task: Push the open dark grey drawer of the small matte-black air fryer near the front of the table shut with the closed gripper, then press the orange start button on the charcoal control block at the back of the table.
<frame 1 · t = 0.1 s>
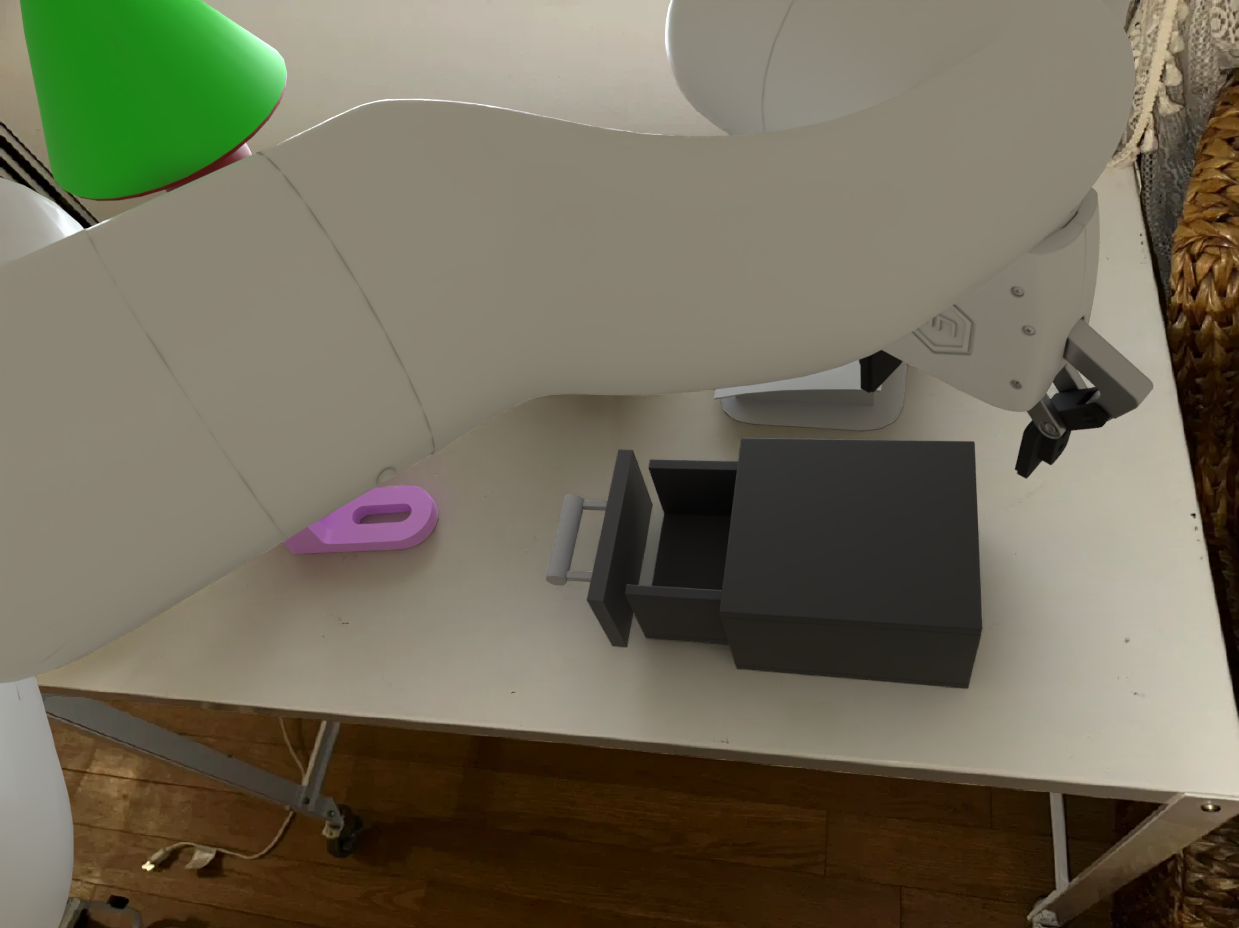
hand: (955, 414, 51), 20 cm above the table, tool pointing down, fingers open, 9 cm apart
mug: (577, 338, 88), on the table
start button: (108, 498, 83), point 4 cm above the table, slide at 0.1 cm
table lamp: (338, 354, 94), on the table
control block: (141, 483, 89), on the table
fryer: (851, 590, 67), on the table
bracket: (369, 524, 81), on the table
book: (821, 325, 82), on the table
dark grey drawer: (681, 550, 67), point 5 cm above the table, slide at 8.0 cm
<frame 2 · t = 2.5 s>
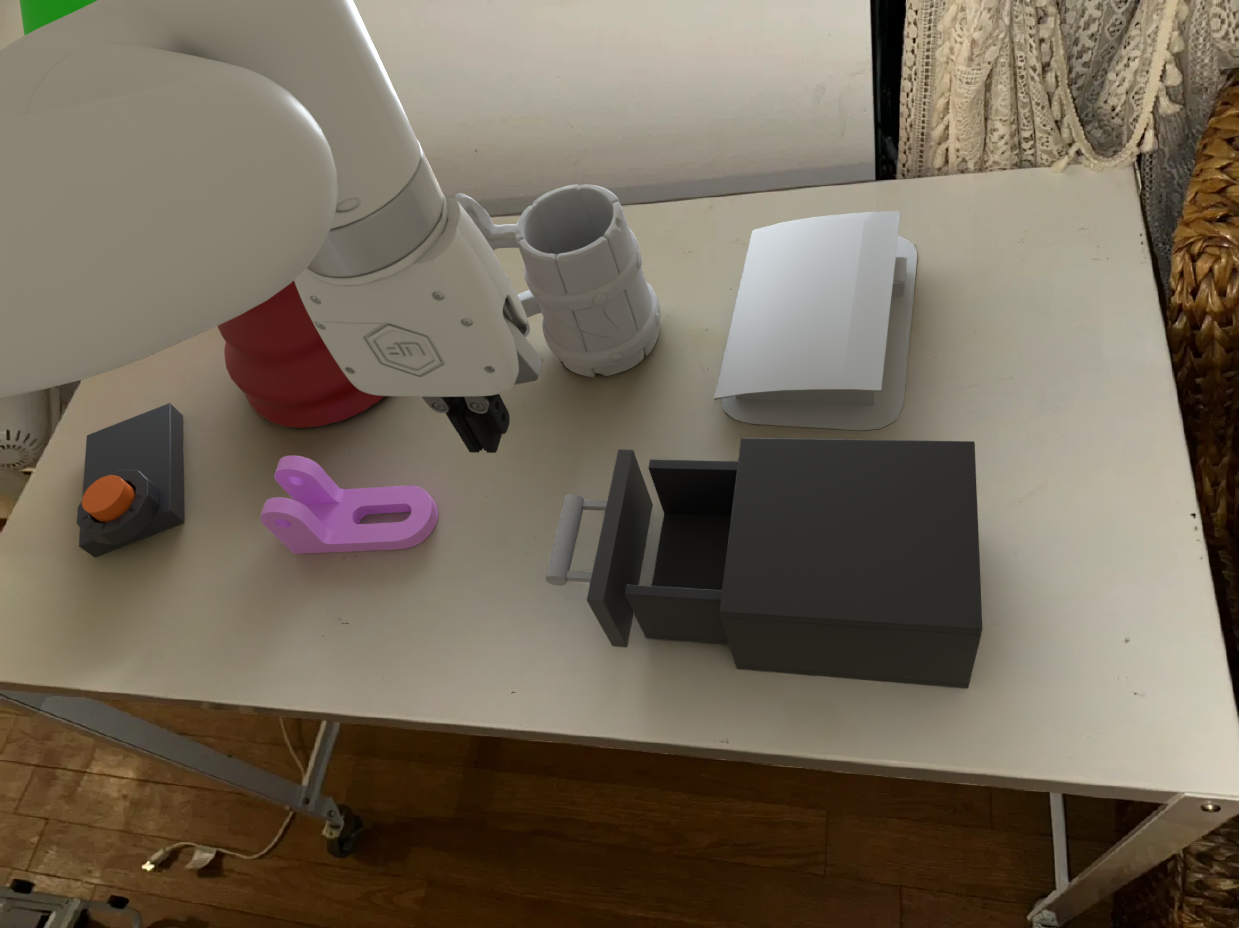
hand: (489, 433, 58), 19 cm above the table, tool pointing down, fingers closed
nothing on the table moved.
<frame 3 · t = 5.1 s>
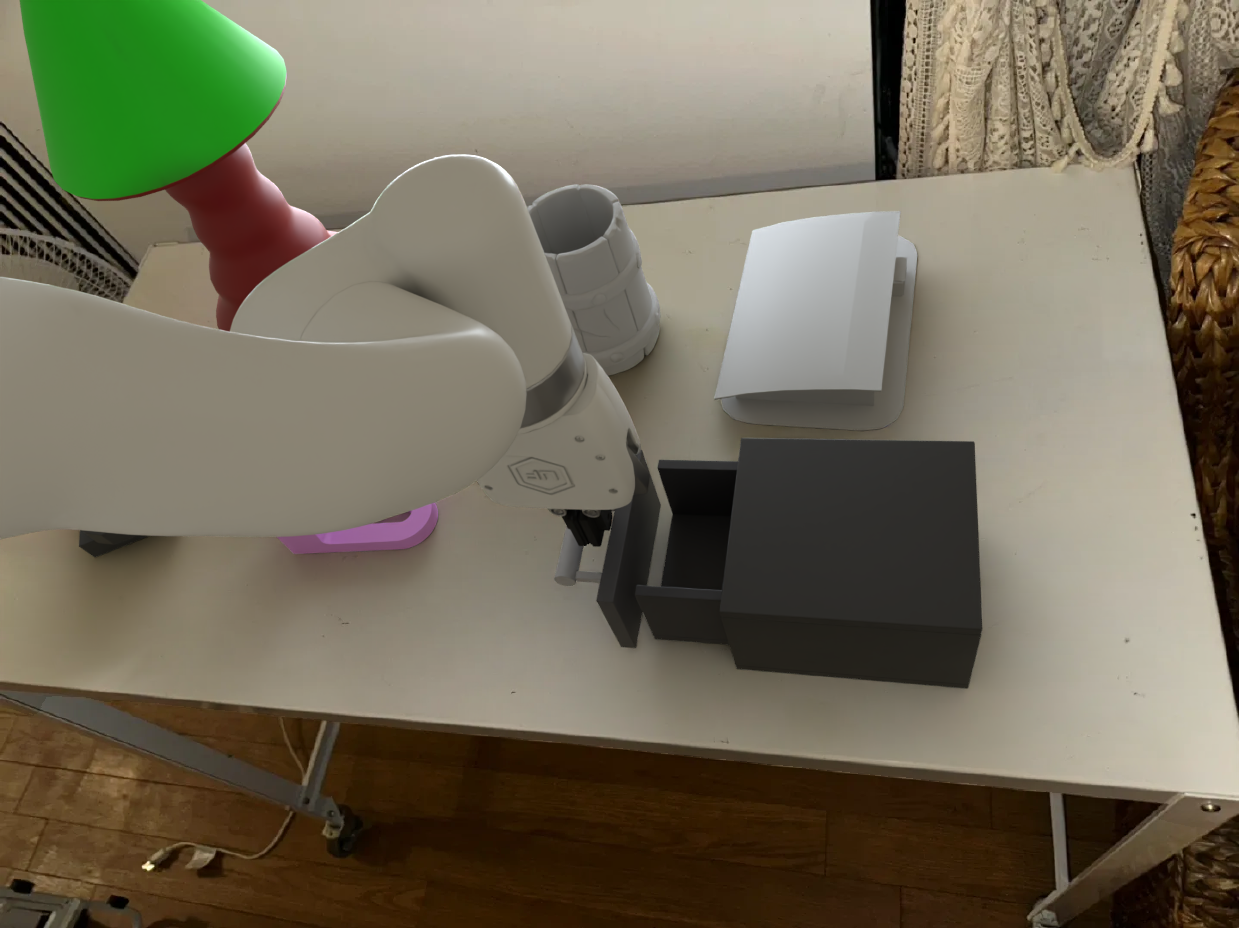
hand: (594, 528, 66), 7 cm above the table, tool pointing down, fingers closed
dark grey drawer: (690, 551, 66), point 5 cm above the table, slide at 7.3 cm
everything else where it was.
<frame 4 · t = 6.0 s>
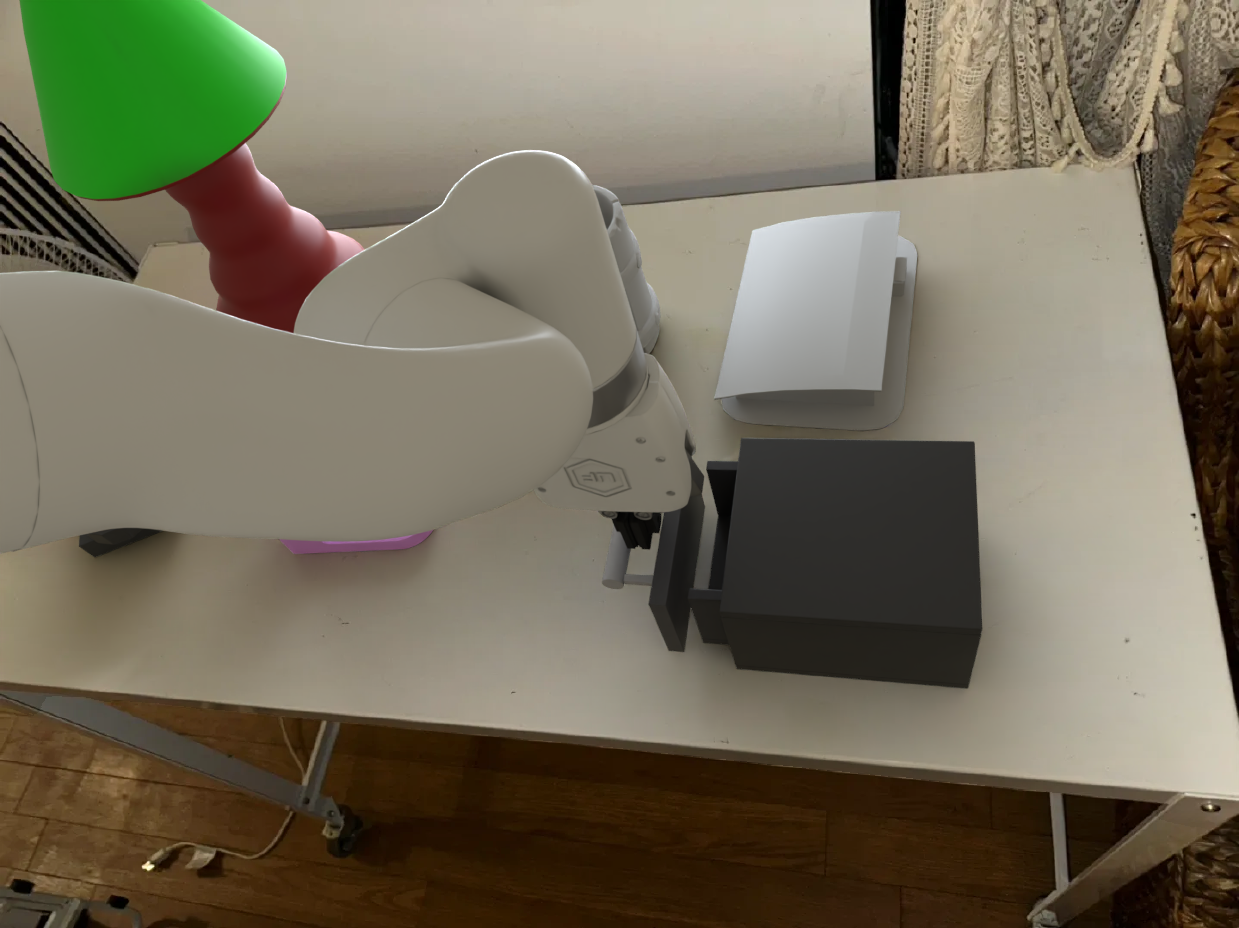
hand: (642, 531, 65), 7 cm above the table, tool pointing down, fingers closed
dark grey drawer: (740, 553, 65), point 5 cm above the table, slide at 3.7 cm, touching gripper
everything else where it was.
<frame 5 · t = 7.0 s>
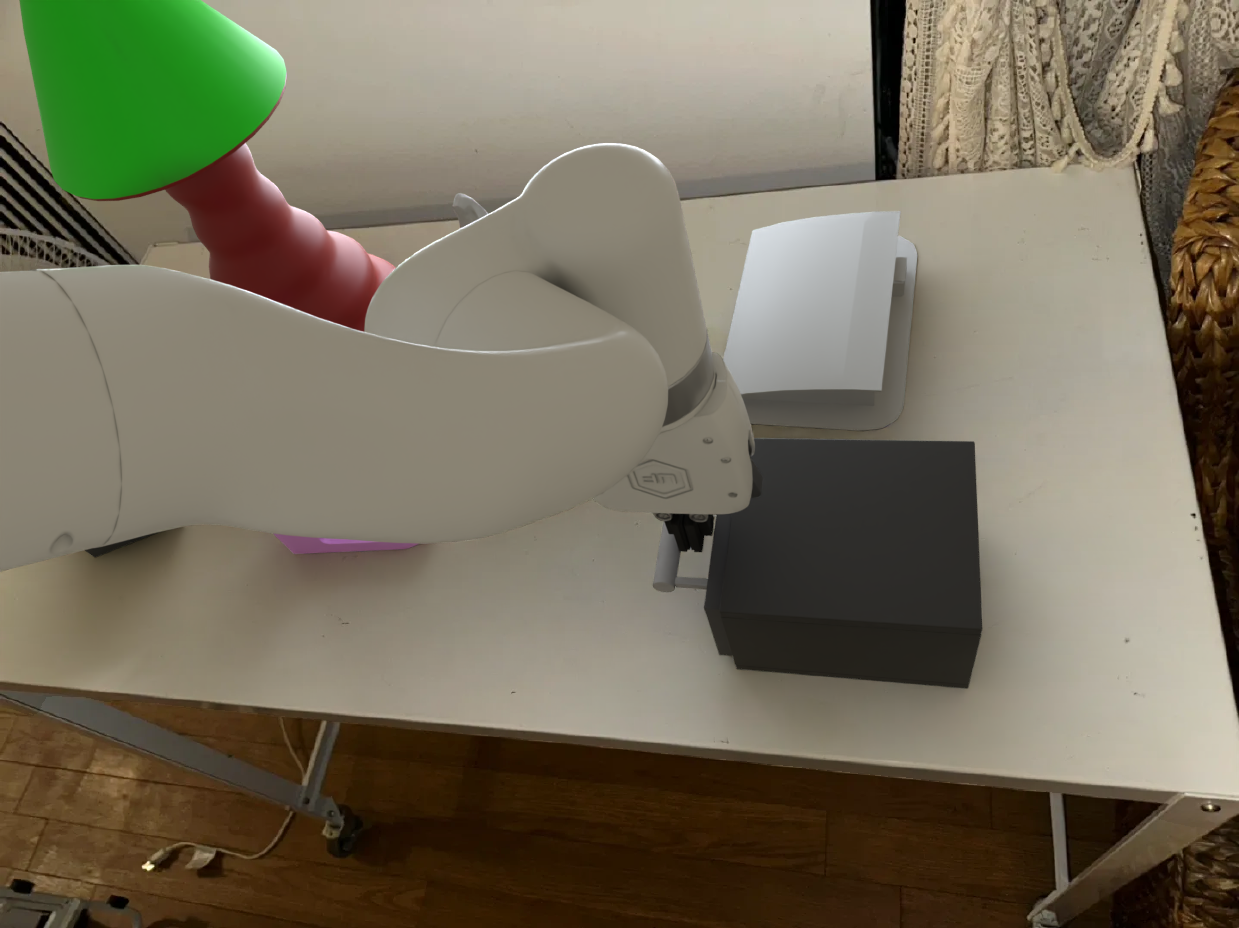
hand: (693, 533, 64), 7 cm above the table, tool pointing down, fingers closed
dark grey drawer: (793, 556, 64), point 5 cm above the table, slide at 0.0 cm, touching fryer, gripper
everything else where it was.
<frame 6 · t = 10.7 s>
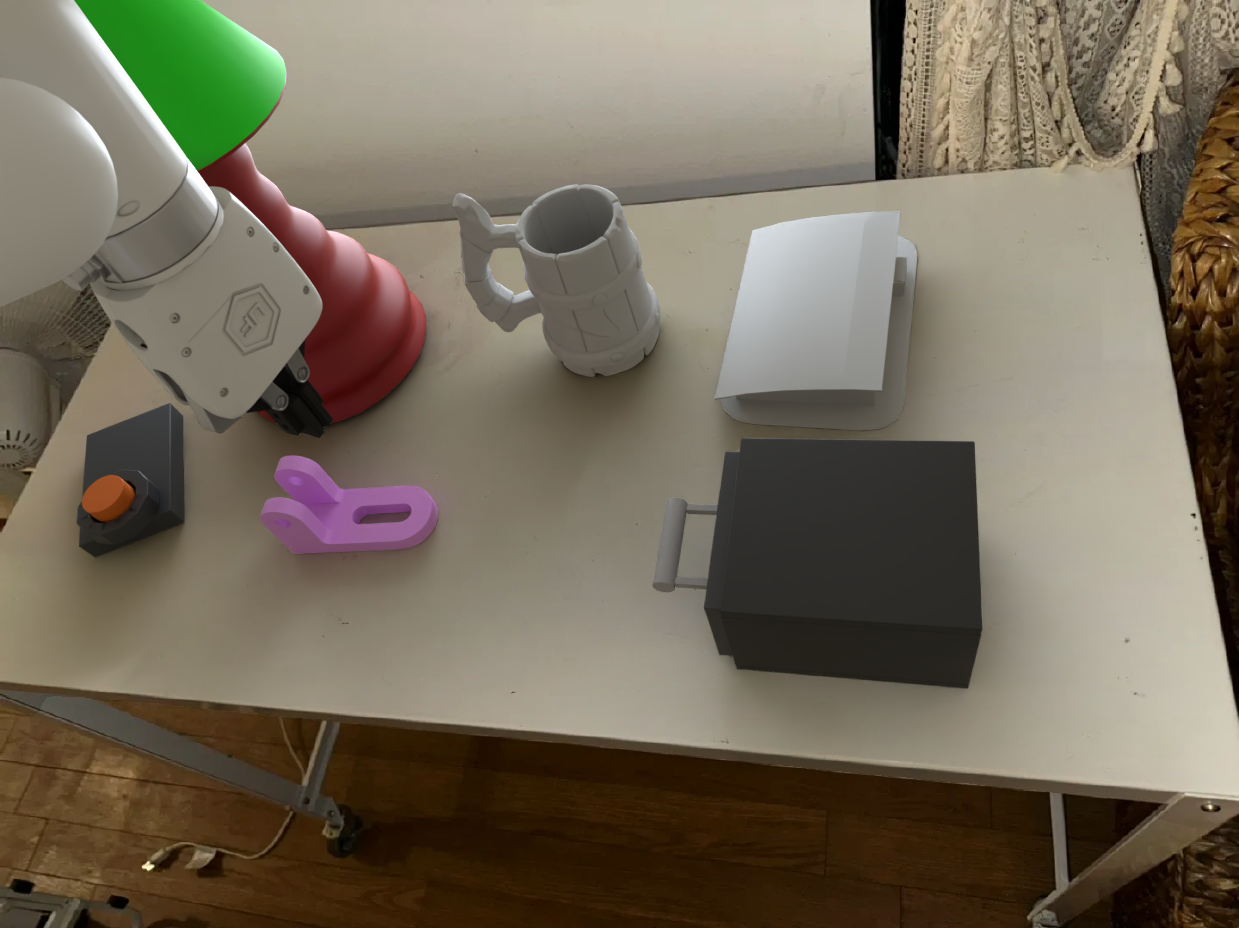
hand: (311, 424, 63), 18 cm above the table, tool pointing down, fingers closed
dark grey drawer: (793, 556, 64), point 5 cm above the table, slide at 0.0 cm, touching fryer
everything else where it was.
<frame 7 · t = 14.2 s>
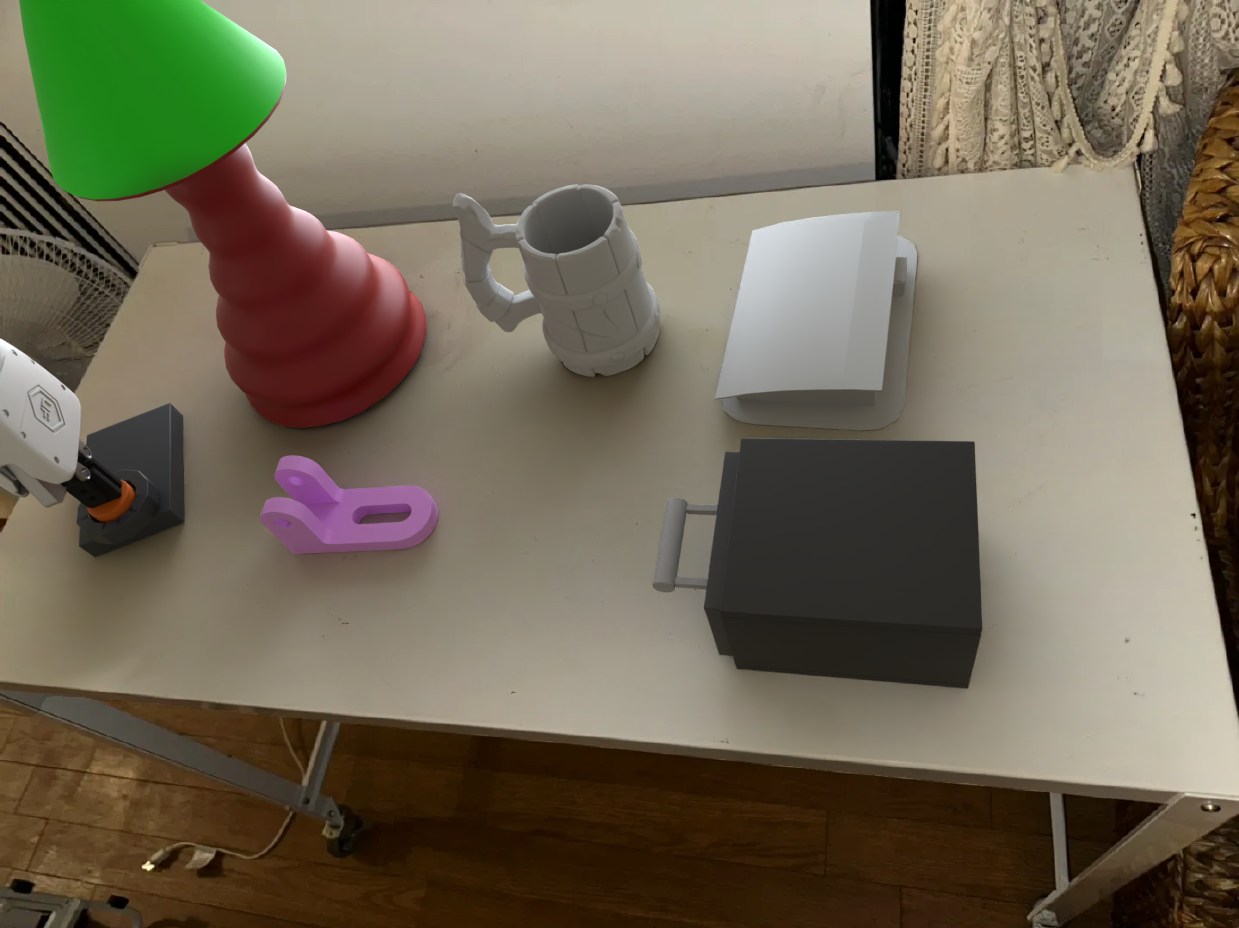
hand: (106, 495, 83), 5 cm above the table, tool pointing down, fingers closed
start button: (113, 502, 83), point 4 cm above the table, slide at -0.6 cm, touching gripper
everything else where it was.
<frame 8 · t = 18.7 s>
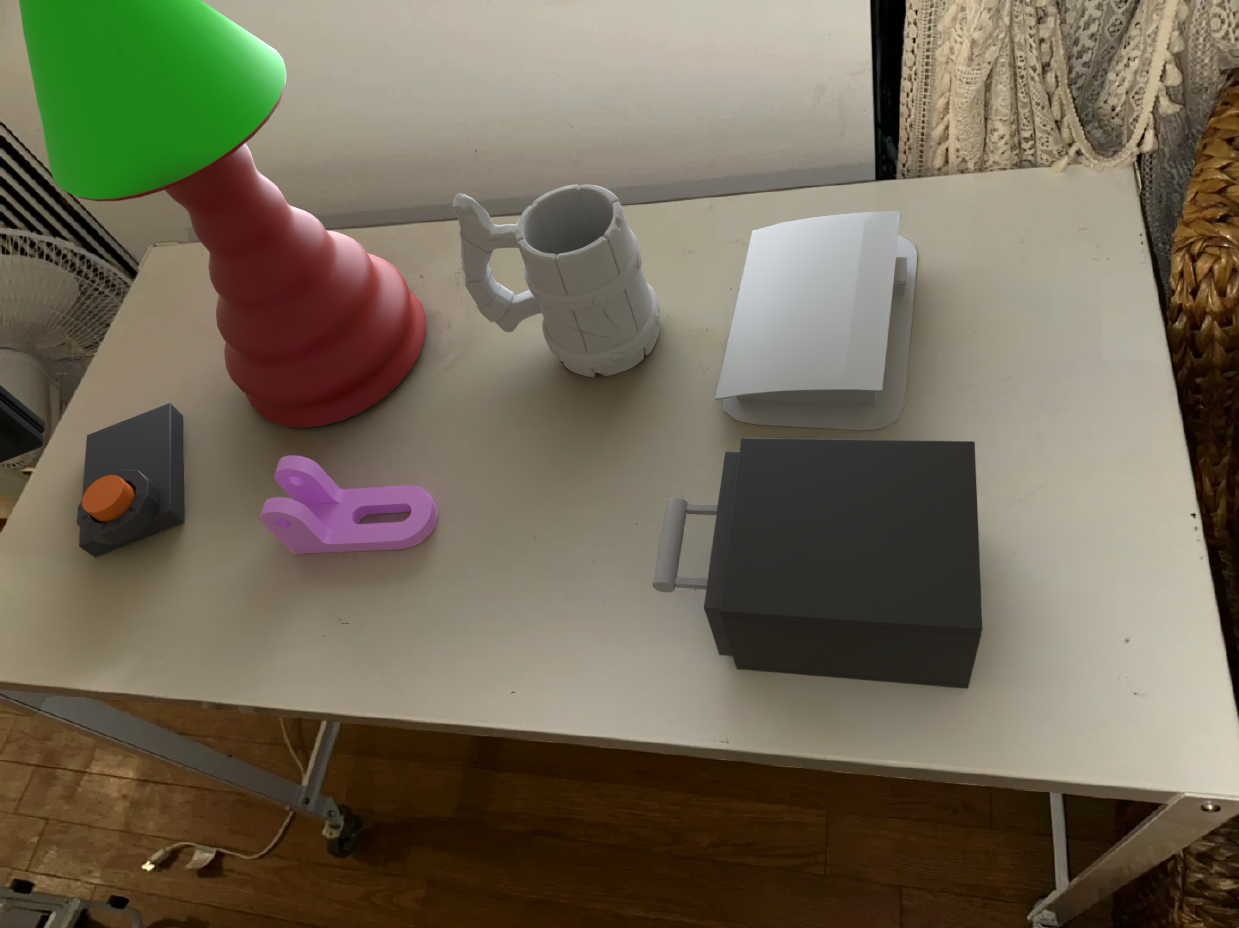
hand: (20, 444, 52), 29 cm above the table, tool pointing down, fingers closed
start button: (108, 498, 83), point 4 cm above the table, slide at 0.1 cm
everything else where it was.
at the end: dark grey drawer slide at 0.0 cm; start button pushed in 1.0 cm at the most during the clip, back to where it started at the end; start button slide at 0.1 cm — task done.
